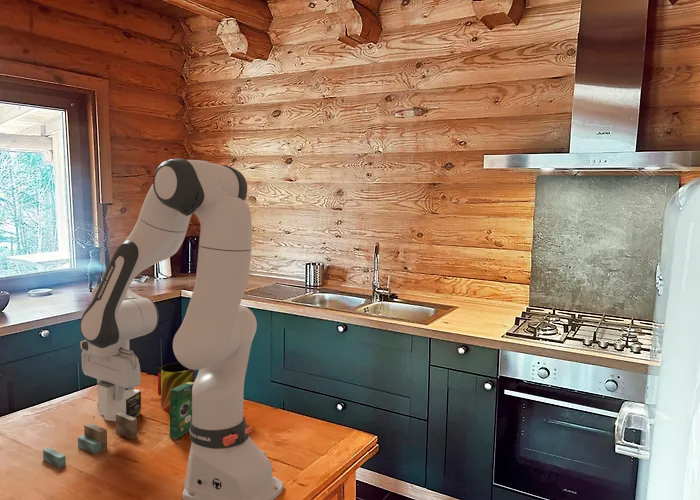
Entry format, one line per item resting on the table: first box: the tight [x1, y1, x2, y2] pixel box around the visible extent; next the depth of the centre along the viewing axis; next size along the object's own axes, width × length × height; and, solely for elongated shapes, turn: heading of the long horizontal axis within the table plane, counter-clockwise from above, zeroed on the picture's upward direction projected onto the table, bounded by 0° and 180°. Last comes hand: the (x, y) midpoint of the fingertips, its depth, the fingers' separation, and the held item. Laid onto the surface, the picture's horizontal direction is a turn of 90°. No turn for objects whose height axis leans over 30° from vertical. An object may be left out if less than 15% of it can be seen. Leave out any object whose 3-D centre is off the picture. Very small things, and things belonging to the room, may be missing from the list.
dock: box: [42, 412, 138, 469], centre depth 133 cm, size 7×20×5 cm, turn 147°
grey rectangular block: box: [97, 381, 125, 417], centre depth 137 cm, size 4×5×8 cm
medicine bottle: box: [104, 387, 142, 422], centre depth 152 cm, size 7×7×12 cm
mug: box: [157, 362, 195, 413], centre depth 162 cm, size 10×14×12 cm
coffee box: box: [169, 382, 194, 440], centre depth 143 cm, size 8×3×13 cm, turn 161°
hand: (111, 397), depth 137 cm, fingers closed on grey rectangular block, 4 cm apart
